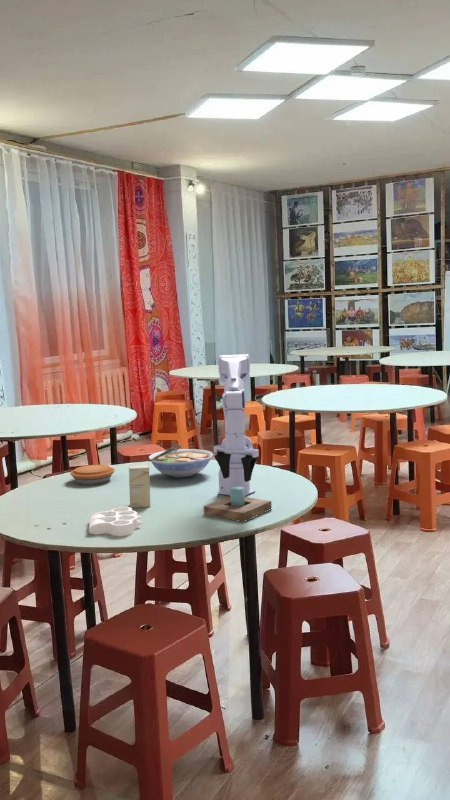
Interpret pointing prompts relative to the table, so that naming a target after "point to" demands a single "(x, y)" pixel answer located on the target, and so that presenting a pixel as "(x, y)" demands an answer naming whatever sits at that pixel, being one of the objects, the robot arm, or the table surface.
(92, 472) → the pie
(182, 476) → the ramen bowl
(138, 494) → the skincare box
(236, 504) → the peg
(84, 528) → the table surface
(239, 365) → the robot arm
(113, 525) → the paw shaped tray
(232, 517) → the socket block
